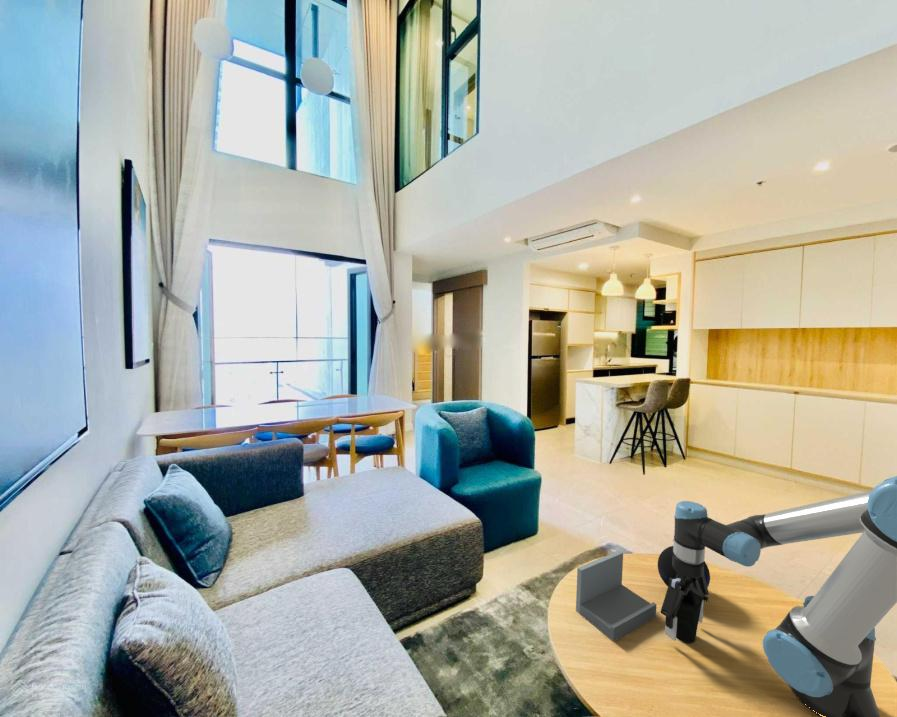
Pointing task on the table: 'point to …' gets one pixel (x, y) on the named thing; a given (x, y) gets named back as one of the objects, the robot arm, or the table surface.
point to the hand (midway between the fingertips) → (684, 628)
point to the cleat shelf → (610, 598)
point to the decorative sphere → (668, 570)
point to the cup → (688, 617)
